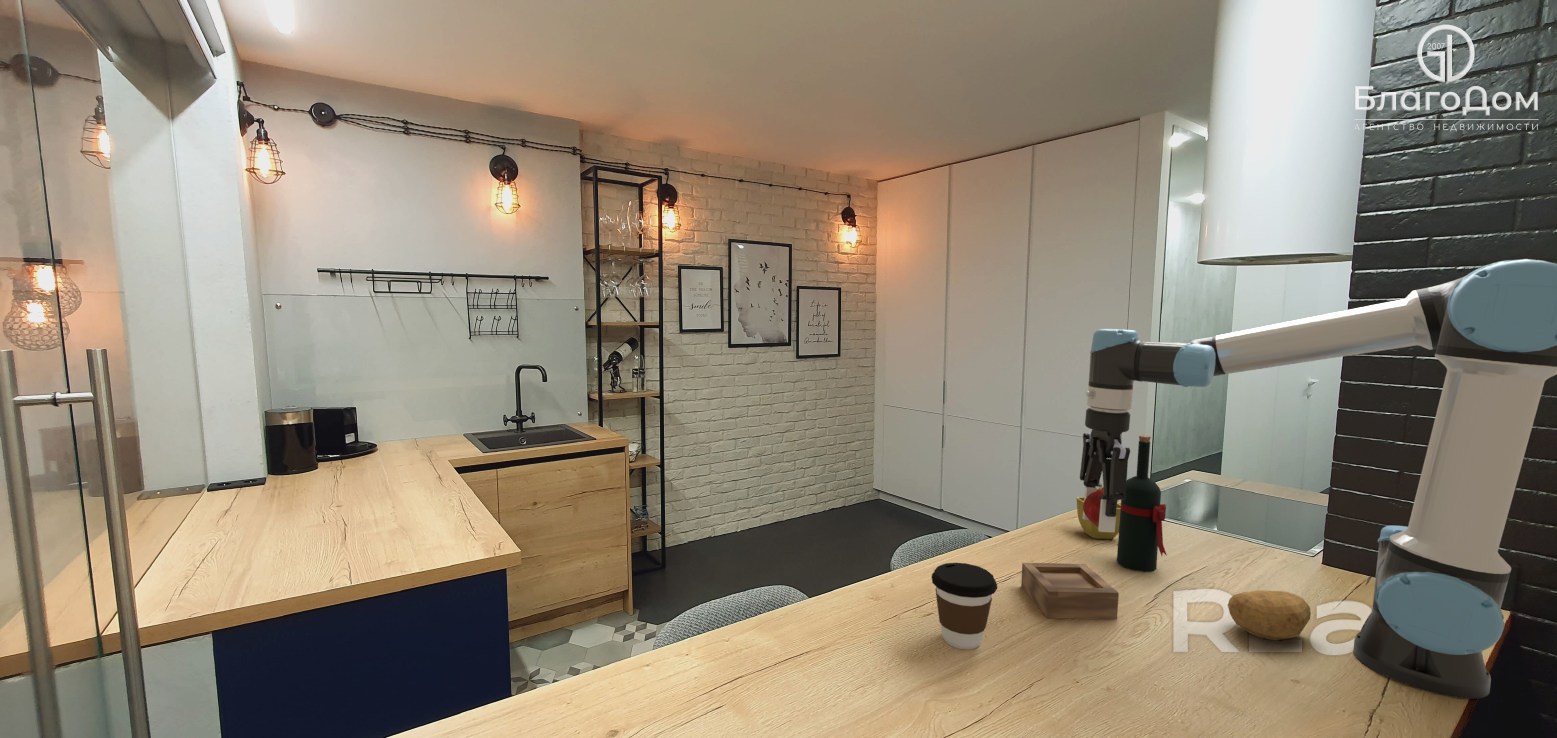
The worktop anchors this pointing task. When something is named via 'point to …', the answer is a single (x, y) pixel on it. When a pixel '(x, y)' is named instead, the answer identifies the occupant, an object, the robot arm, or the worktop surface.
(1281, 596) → the potato
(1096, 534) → the flower pot
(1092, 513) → the pomegranate
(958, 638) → the coffee cup
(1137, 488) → the wine bottle
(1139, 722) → the worktop surface
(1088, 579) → the walnut tray
